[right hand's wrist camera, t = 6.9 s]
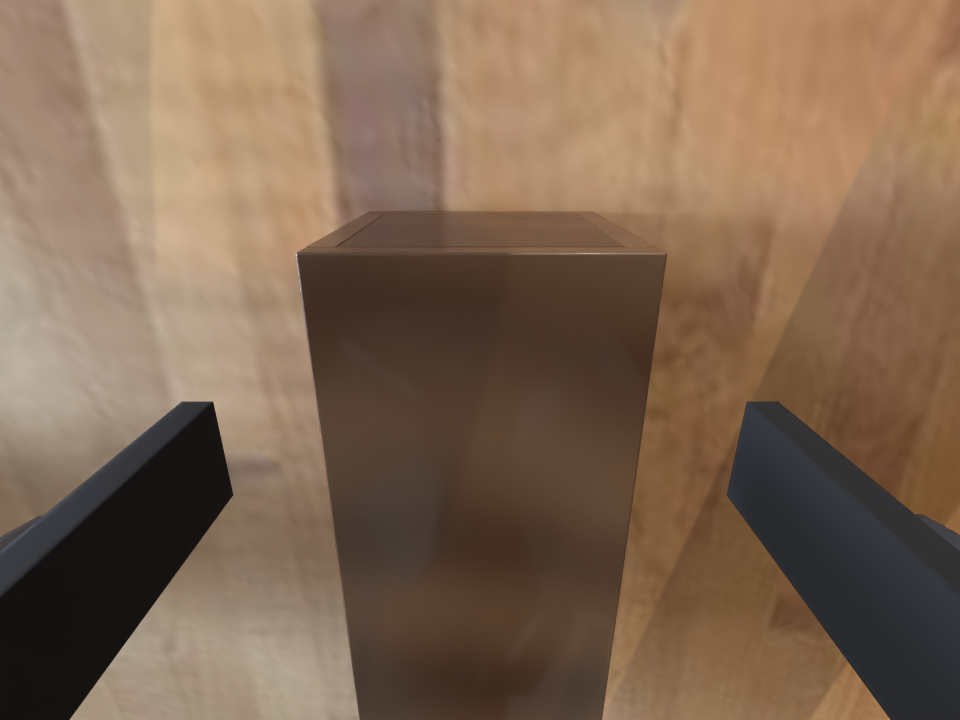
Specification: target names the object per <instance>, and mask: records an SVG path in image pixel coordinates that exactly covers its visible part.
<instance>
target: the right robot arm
mask: <svg viewBox="0 0 960 720" xmlns="http://www.w3.org/2000/svg"><path fill="white" fill-rule="evenodd" d="M232 496H233V492H232V487H231V482H230V478H229V473H228V468H227V464H226V459H225V455H224V450H223V445H222V441H221V436H220V431H219V427H218V422H217V418H216V413H215V408H214V404H213V402H181V403H180V404H179V405H177V406H176V407H175V408H174V409H172V410H171V411H170V412H169V413H168V414H166V415H165V416H164V417H163V418H162V419H160V420H159V421H158V422H157V423H155V424H154V425H153V426H152V427H151V428H149V429H148V430H147V431H146V432H145V433H143V434H142V435H141V436H140V437H139V438H137V439H136V440H135V441H134V442H132V443H131V444H130V445H129V446H128V447H126V448H125V449H124V450H123V451H122V452H120V453H119V454H118V455H117V456H115V457H114V458H113V459H112V460H111V461H109V462H108V463H107V464H106V465H105V466H103V467H102V468H101V469H100V470H98V471H97V472H96V473H95V474H94V475H92V476H91V477H90V478H89V479H88V480H86V481H85V482H84V483H83V484H81V485H80V486H79V487H78V488H77V489H75V490H74V491H73V492H72V493H71V494H69V495H68V496H67V497H66V498H64V499H63V500H62V501H61V502H60V503H58V504H57V505H56V506H55V507H54V508H52V509H51V510H50V511H49V512H47V513H46V514H45V515H44V516H38V517H36V518H34V519H33V520H31V521H29V522H27V523H25V524H23V525H22V526H20V527H18V528H16V529H14V530H12V531H11V532H9V533H7V534H5V535H3V536H2V537H1V538H0V720H70V718H71V717H72V715H73V714H74V713H75V711H76V710H77V709H78V707H79V706H80V704H81V703H82V702H83V700H84V699H85V698H86V696H87V695H88V693H89V692H90V691H91V689H92V688H93V687H94V685H95V684H96V682H97V681H98V680H99V678H100V677H101V676H102V674H103V673H104V672H105V670H106V669H107V667H108V666H109V665H110V663H111V662H112V661H113V659H114V658H115V656H116V655H117V654H118V652H119V651H120V650H121V648H122V647H123V645H124V644H125V643H126V641H127V640H128V639H129V637H130V636H131V634H132V633H133V632H134V630H135V629H136V628H137V626H138V625H139V623H140V622H141V621H142V619H143V618H144V617H145V615H146V614H147V612H148V611H149V610H150V608H151V607H152V606H153V604H154V603H155V602H156V600H157V599H158V597H159V596H160V595H161V593H162V592H163V591H164V589H165V588H166V586H167V585H168V584H169V582H170V581H171V580H172V578H173V577H174V575H175V574H176V573H177V571H178V570H179V569H180V567H181V566H182V564H183V563H184V562H185V560H186V559H187V558H188V556H189V555H190V553H191V552H192V551H193V549H194V548H195V547H196V545H197V544H198V542H199V541H200V540H201V538H202V537H203V536H204V534H205V533H206V532H207V530H208V529H209V527H210V526H211V525H212V523H213V522H214V521H215V519H216V518H217V516H218V515H219V514H220V512H221V511H222V510H223V508H224V507H225V505H226V504H227V503H228V501H229V500H230V499H231V497H232ZM727 496H728V497H729V499H730V500H731V501H732V503H733V504H734V505H735V507H736V508H737V510H738V511H739V512H740V514H741V515H742V516H743V518H744V519H745V521H746V522H747V523H748V525H749V526H750V527H751V529H752V530H753V532H754V533H755V534H756V536H757V537H758V538H759V540H760V541H761V543H762V544H763V545H764V547H765V548H766V549H767V551H768V552H769V553H770V555H771V556H772V558H773V559H774V560H775V562H776V563H777V564H778V566H779V567H780V569H781V570H782V571H783V573H784V574H785V575H786V577H787V578H788V580H789V581H790V582H791V584H792V585H793V586H794V588H795V589H796V591H797V592H798V593H799V595H800V596H801V597H802V599H803V600H804V602H805V603H806V604H807V606H808V607H809V608H810V610H811V611H812V612H813V614H814V615H815V617H816V618H817V619H818V621H819V622H820V623H821V625H822V626H823V628H824V629H825V630H826V632H827V633H828V634H829V636H830V637H831V639H832V640H833V641H834V643H835V644H836V645H837V647H838V648H839V650H840V651H841V652H842V654H843V655H844V656H845V658H846V659H847V661H848V662H849V663H850V665H851V666H852V667H853V669H854V670H855V672H856V673H857V674H858V676H859V677H860V678H861V680H862V681H863V682H864V684H865V685H866V687H867V688H868V689H869V691H870V692H871V693H872V695H873V696H874V698H875V699H876V700H877V702H878V703H879V704H880V706H881V707H882V709H883V710H884V711H885V713H886V714H887V715H888V717H889V718H890V720H960V535H958V534H957V533H955V532H954V531H952V530H950V529H948V528H946V527H944V526H943V525H941V524H939V523H937V522H935V521H933V520H931V519H930V518H928V517H926V516H924V515H915V514H914V513H913V512H911V511H910V510H909V509H908V508H906V507H905V506H904V505H903V504H902V503H900V502H899V501H898V500H897V499H896V498H894V497H893V496H892V495H891V494H889V493H888V492H887V491H886V490H885V489H883V488H882V487H881V486H880V485H879V484H877V483H876V482H875V481H874V480H872V479H871V478H870V477H869V476H868V475H866V474H865V473H864V472H863V471H862V470H860V469H859V468H858V467H857V466H855V465H854V464H853V463H852V462H851V461H849V460H848V459H847V458H846V457H845V456H843V455H842V454H841V453H840V452H838V451H837V450H836V449H835V448H834V447H832V446H831V445H830V444H829V443H828V442H826V441H825V440H824V439H823V438H821V437H820V436H819V435H818V434H817V433H815V432H814V431H813V430H812V429H811V428H809V427H808V426H807V425H806V424H805V423H803V422H802V421H801V420H800V419H798V418H797V417H796V416H795V415H794V414H792V413H791V412H790V411H789V410H788V409H786V408H785V407H784V406H783V405H781V404H780V403H779V402H747V404H746V408H745V413H744V418H743V422H742V427H741V431H740V436H739V441H738V445H737V450H736V455H735V459H734V464H733V468H732V473H731V478H730V482H729V487H728V492H727Z"/></svg>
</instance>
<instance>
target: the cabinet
mask: <svg viewBox="0 0 960 720" xmlns="http://www.w3.org/2000/svg"><path fill="white" fill-rule="evenodd" d="M666 258H667V254H666V253H665V252H664V251H662V250H660V249H658V248H656V247H655V246H653V245H651V244H649V243H648V242H646V241H644V240H642V239H640V238H639V237H637V236H635V235H633V234H631V233H630V232H628V231H626V230H624V229H623V228H621V227H619V226H617V225H615V224H614V223H612V222H610V221H608V220H606V219H605V218H603V217H601V216H599V215H597V214H596V213H594V212H368V213H366V214H364V215H362V216H360V217H359V218H357V219H355V220H353V221H351V222H350V223H348V224H346V225H344V226H343V227H341V228H339V229H337V230H335V231H334V232H332V233H330V234H328V235H327V236H325V237H323V238H321V239H319V240H318V241H316V242H314V243H312V244H311V245H309V246H307V247H306V248H304V249H302V250H301V251H299V252H297V253H296V262H297V269H298V276H299V283H300V291H301V298H302V305H303V312H304V320H305V327H306V334H307V341H308V349H309V356H310V363H311V370H312V378H313V385H314V392H315V399H316V407H317V414H318V421H319V428H320V436H321V443H322V450H323V458H324V465H325V472H326V479H327V487H328V494H329V501H330V508H331V516H332V523H333V530H334V537H335V545H336V552H337V559H338V566H339V574H340V581H341V588H342V595H343V603H344V610H345V617H346V624H347V632H348V639H349V646H350V653H351V661H352V668H353V675H354V682H355V690H356V697H357V704H358V711H359V719H360V720H602V716H603V709H604V702H605V695H606V687H607V680H608V673H609V666H610V659H611V652H612V644H613V637H614V630H615V623H616V616H617V609H618V602H619V594H620V587H621V580H622V573H623V566H624V559H625V551H626V544H627V537H628V530H629V523H630V516H631V508H632V501H633V494H634V487H635V480H636V473H637V466H638V458H639V451H640V444H641V437H642V430H643V423H644V415H645V408H646V401H647V394H648V387H649V380H650V373H651V365H652V358H653V351H654V344H655V337H656V330H657V322H658V315H659V308H660V301H661V294H662V287H663V280H664V272H665V265H666Z"/></svg>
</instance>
